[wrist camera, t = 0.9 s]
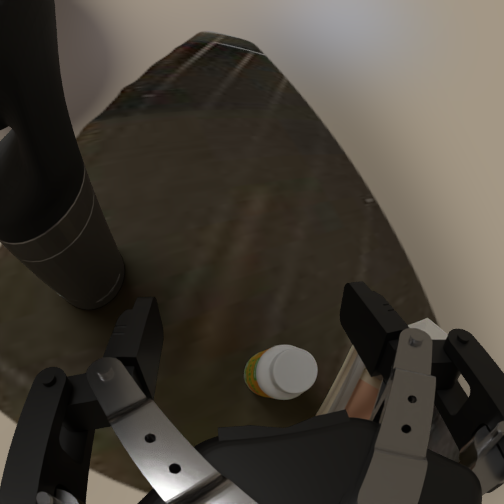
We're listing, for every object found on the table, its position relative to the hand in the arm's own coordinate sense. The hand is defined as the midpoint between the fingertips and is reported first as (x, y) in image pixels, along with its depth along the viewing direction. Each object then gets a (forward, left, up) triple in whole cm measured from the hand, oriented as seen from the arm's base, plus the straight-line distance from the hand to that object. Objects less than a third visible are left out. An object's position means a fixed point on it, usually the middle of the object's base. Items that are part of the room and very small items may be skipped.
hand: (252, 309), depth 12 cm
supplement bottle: (+6, +1, -22) cm, 23 cm away
